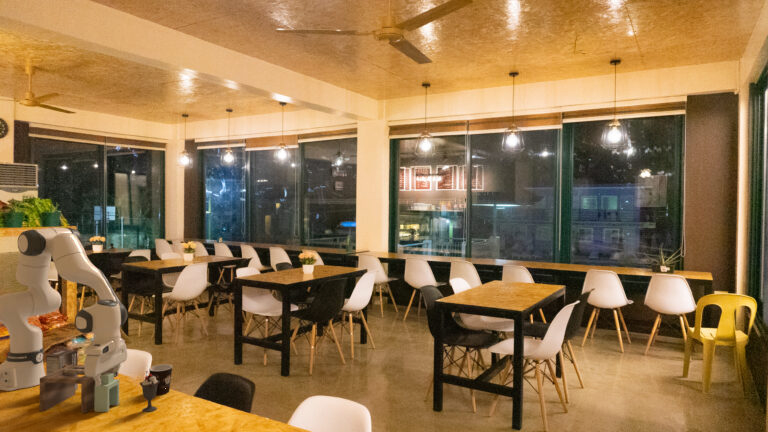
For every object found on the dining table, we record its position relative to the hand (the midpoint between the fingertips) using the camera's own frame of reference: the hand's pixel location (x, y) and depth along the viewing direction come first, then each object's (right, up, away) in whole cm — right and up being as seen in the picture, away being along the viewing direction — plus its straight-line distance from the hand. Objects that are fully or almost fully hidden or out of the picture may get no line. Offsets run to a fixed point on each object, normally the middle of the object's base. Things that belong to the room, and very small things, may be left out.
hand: (107, 380), depth 183 cm
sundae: (+16, -11, -1) cm, 19 cm away
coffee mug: (+12, -10, +15) cm, 22 cm away
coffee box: (-27, -10, +15) cm, 32 cm away
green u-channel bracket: (0, -10, 0) cm, 10 cm away
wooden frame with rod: (-13, -10, +4) cm, 17 cm away
